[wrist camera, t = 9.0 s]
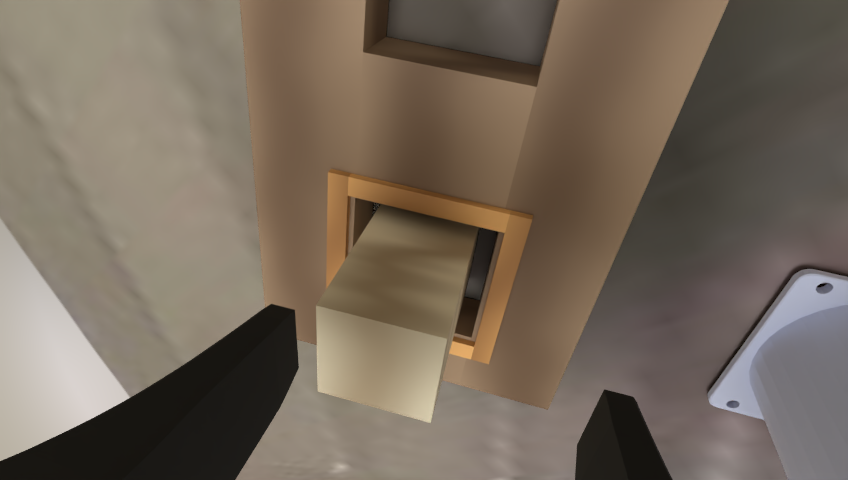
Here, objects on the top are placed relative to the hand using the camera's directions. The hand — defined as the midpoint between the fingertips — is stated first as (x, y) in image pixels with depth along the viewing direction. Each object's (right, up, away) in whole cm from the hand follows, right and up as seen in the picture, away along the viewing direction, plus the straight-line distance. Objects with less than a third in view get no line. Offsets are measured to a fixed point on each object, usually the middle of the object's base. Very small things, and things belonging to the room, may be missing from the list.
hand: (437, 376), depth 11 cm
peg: (0, +3, +11) cm, 11 cm away
